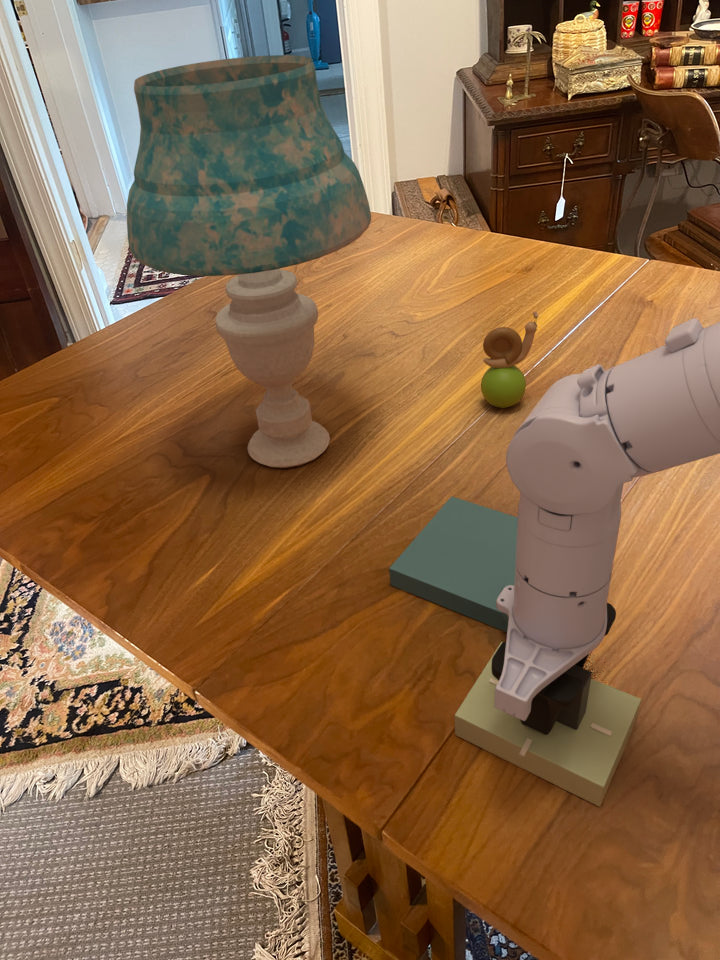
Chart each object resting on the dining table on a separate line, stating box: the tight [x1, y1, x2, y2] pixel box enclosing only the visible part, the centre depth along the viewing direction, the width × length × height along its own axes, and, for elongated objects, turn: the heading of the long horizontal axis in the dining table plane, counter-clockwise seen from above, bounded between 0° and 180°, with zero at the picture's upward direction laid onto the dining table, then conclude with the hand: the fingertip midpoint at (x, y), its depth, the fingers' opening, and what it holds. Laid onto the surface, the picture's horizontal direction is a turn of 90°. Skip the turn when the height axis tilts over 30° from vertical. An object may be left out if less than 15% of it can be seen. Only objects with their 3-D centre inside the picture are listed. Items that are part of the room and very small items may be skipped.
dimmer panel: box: [454, 641, 642, 807], centre depth 54 cm, size 11×9×3 cm
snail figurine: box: [480, 310, 539, 409], centre depth 88 cm, size 5×6×12 cm
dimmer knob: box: [556, 665, 593, 730], centre depth 52 cm, size 5×2×5 cm, turn 56°
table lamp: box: [126, 54, 372, 469], centre depth 76 cm, size 24×24×40 cm
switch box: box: [388, 495, 518, 633], centre depth 66 cm, size 18×13×4 cm
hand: (548, 702), depth 53 cm, fingers open, 4 cm apart
